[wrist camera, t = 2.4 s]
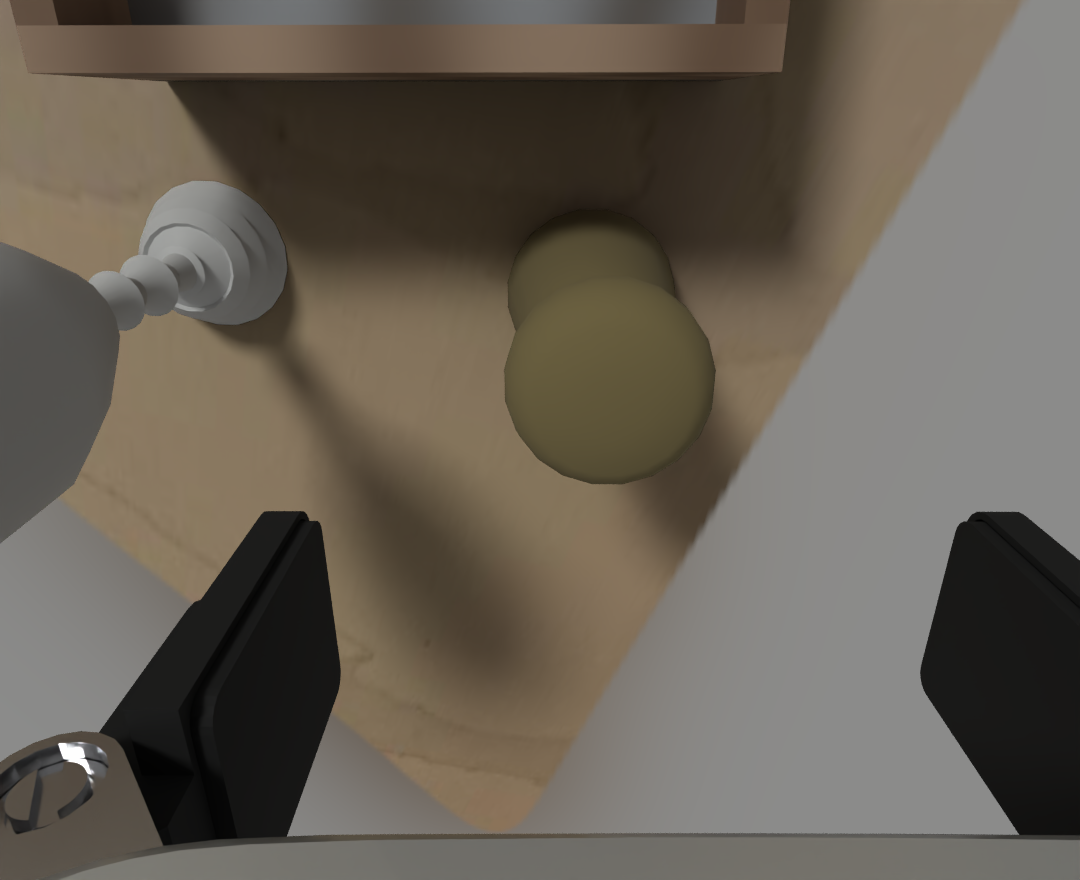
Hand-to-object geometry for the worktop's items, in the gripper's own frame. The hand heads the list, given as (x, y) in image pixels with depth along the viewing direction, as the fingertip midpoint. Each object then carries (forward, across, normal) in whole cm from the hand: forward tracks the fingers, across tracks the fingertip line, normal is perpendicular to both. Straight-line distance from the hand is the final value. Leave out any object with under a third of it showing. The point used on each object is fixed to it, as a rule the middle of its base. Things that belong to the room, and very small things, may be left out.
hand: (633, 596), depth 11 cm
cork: (+18, 0, -1) cm, 18 cm away
